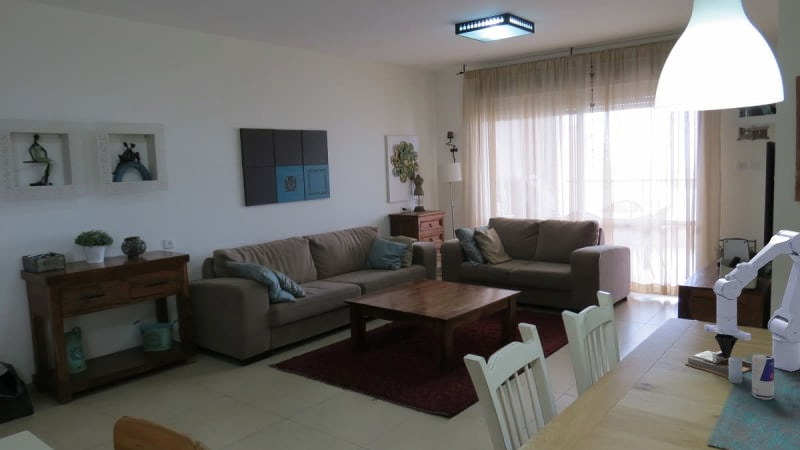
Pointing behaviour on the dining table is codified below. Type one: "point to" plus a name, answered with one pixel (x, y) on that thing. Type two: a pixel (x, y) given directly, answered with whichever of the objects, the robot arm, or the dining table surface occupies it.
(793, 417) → the dining table surface
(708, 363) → the wooden square tray
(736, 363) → the light blue rounded cylinder
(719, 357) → the cover
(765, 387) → the energy drink
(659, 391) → the dining table surface
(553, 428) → the dining table surface
